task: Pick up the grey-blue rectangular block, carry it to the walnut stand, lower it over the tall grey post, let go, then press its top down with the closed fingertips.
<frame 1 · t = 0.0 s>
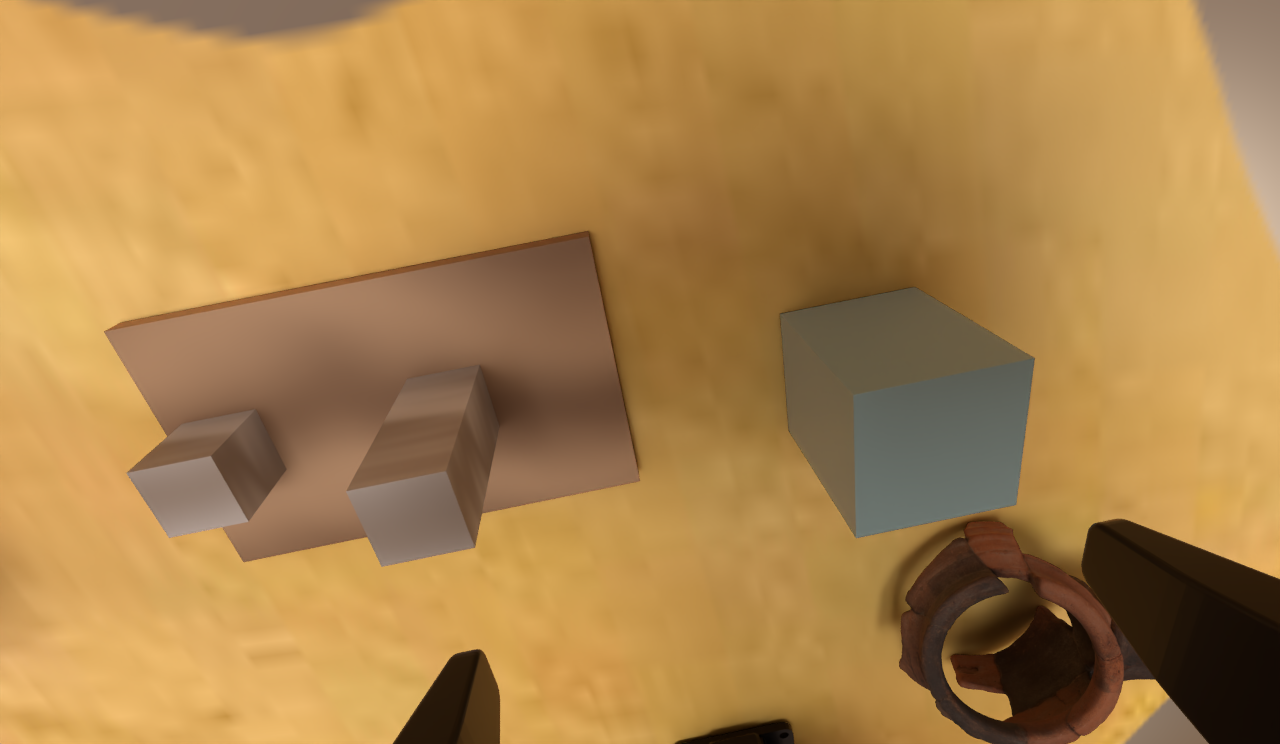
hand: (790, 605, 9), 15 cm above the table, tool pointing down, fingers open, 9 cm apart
grey-blue rectangular block: (848, 362, 24), on the table
stand: (405, 403, 23), on the table
brown looped piece: (986, 582, 31), on the table
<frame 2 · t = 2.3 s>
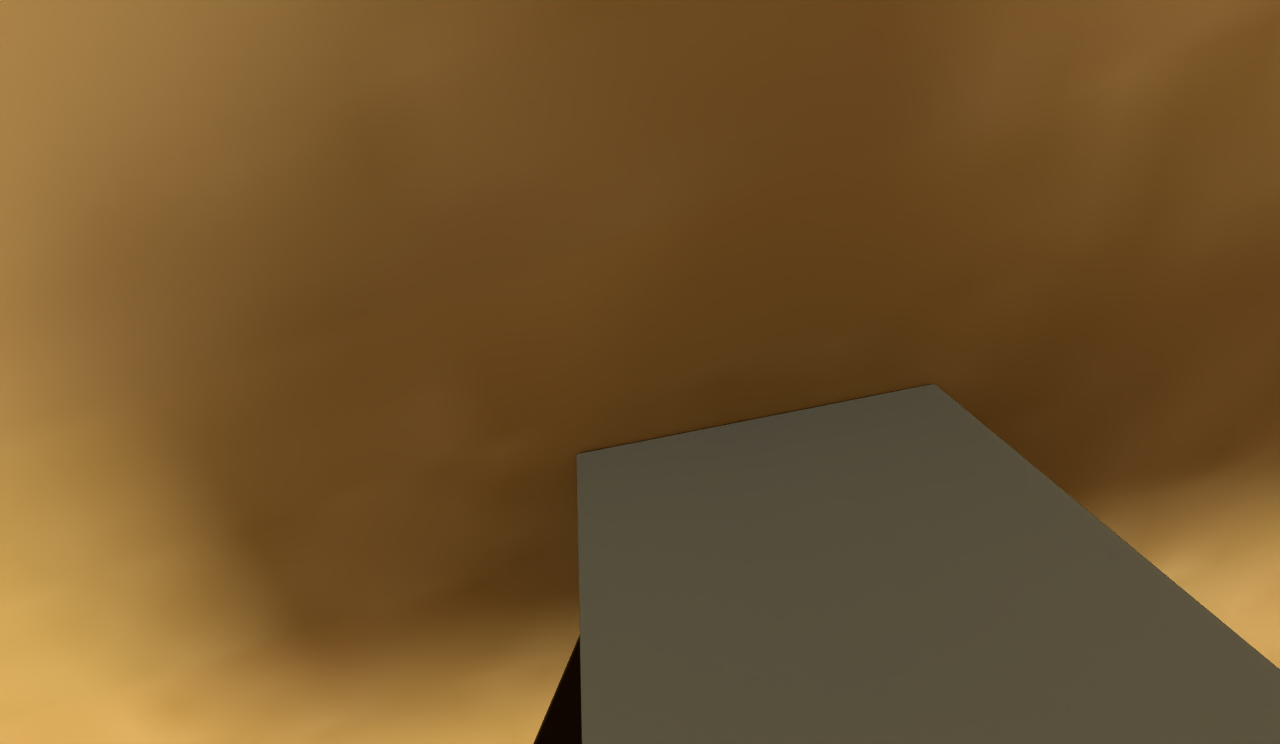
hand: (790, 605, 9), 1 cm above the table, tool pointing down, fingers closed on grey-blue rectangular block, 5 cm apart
grey-blue rectangular block: (769, 556, 10), on the table, touching gripper
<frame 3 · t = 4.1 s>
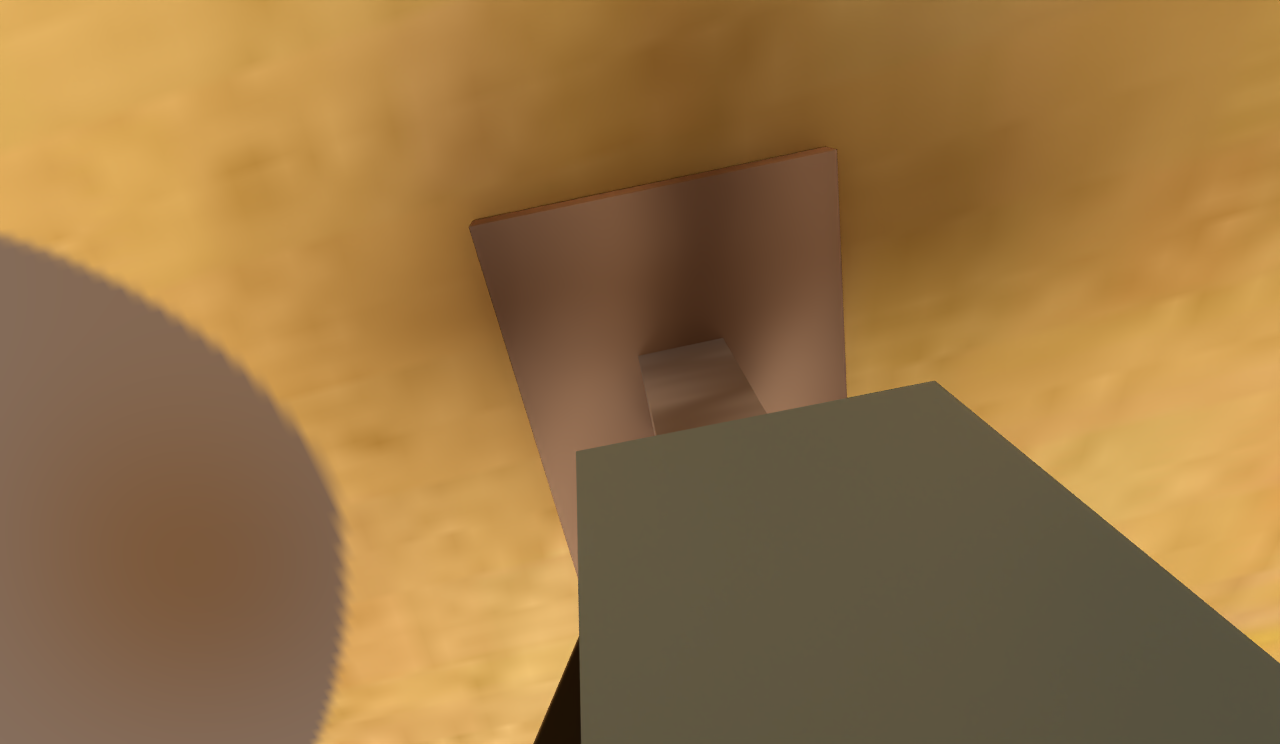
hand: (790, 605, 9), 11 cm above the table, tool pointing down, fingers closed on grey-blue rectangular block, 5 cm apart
grey-blue rectangular block: (769, 554, 10), point 10 cm above the table, touching gripper
stand: (691, 425, 21), on the table
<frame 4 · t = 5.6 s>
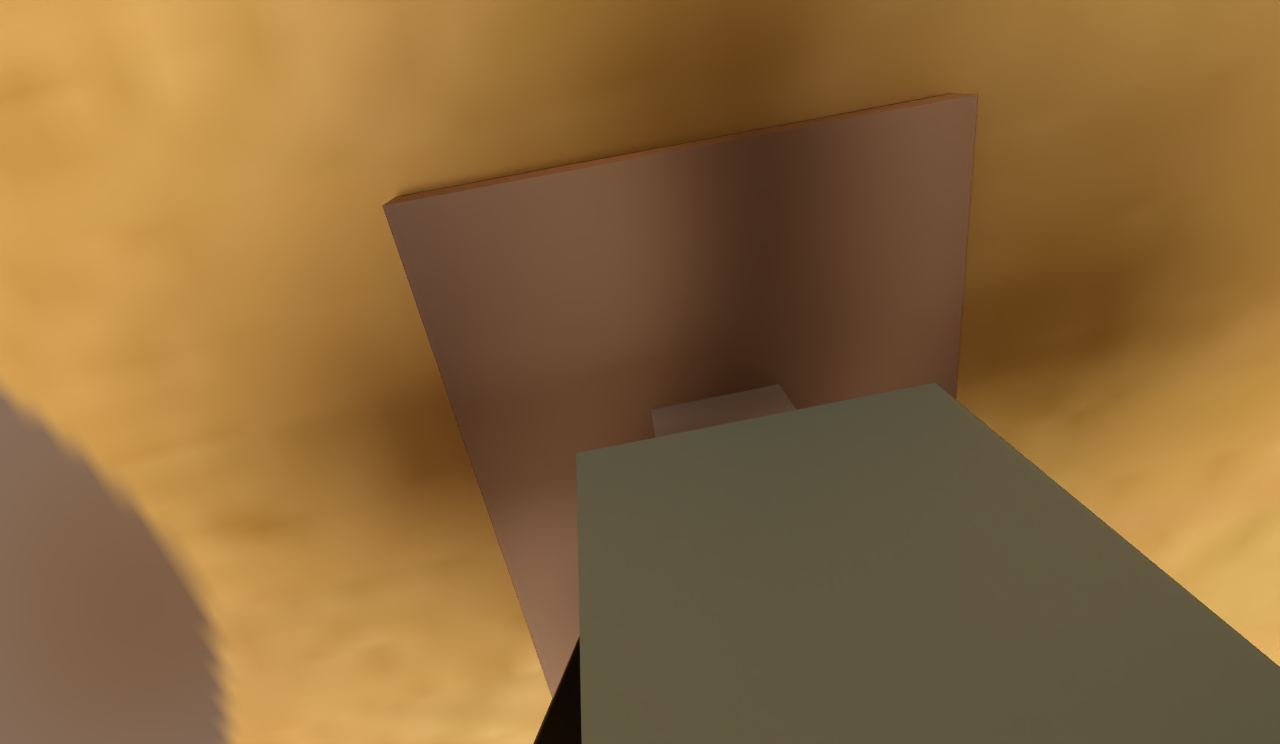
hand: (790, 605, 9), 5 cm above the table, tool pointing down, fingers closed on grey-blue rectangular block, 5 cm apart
grey-blue rectangular block: (769, 555, 10), point 4 cm above the table, touching gripper
stand: (722, 503, 14), on the table
when the fingers open (4 cm above the table, at t = 6.3 s): grey-blue rectangular block drops 1 cm, resting on stand.
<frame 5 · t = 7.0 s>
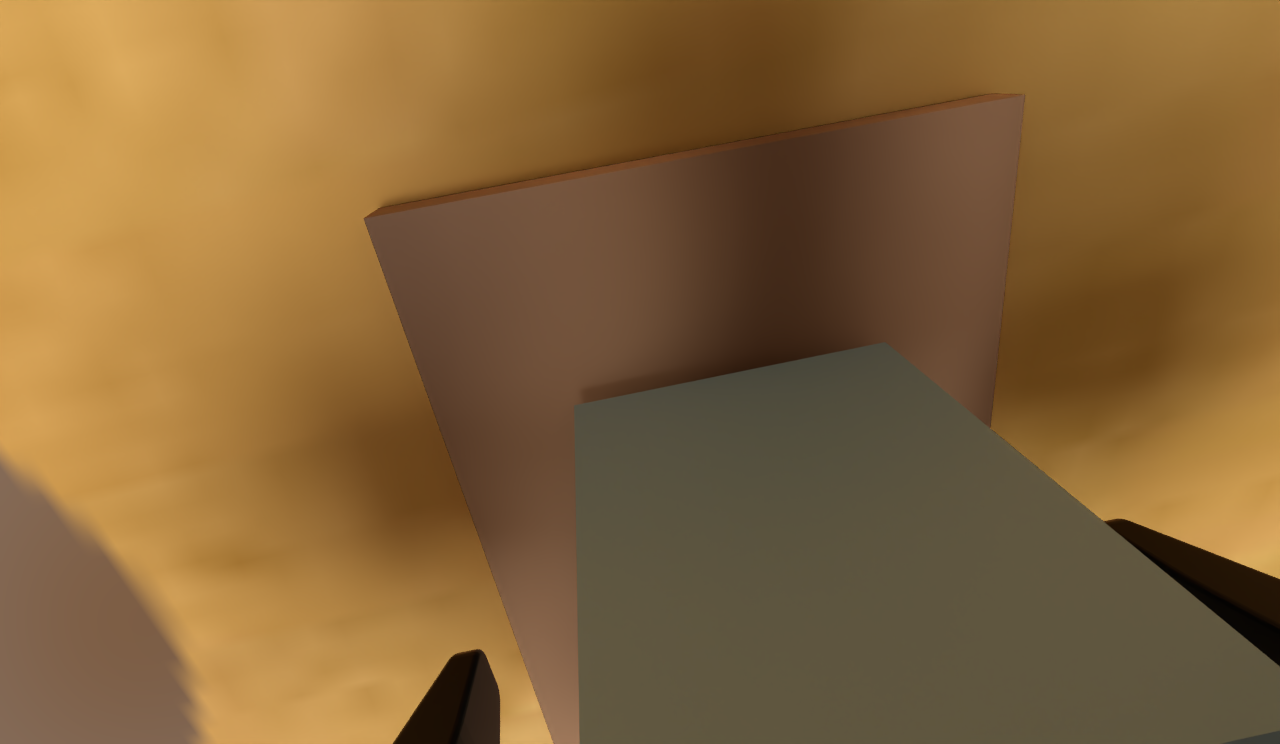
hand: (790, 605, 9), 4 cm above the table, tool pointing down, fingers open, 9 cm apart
grey-blue rectangular block: (745, 499, 11), point 1 cm above the table, touching stand
stand: (735, 534, 13), on the table
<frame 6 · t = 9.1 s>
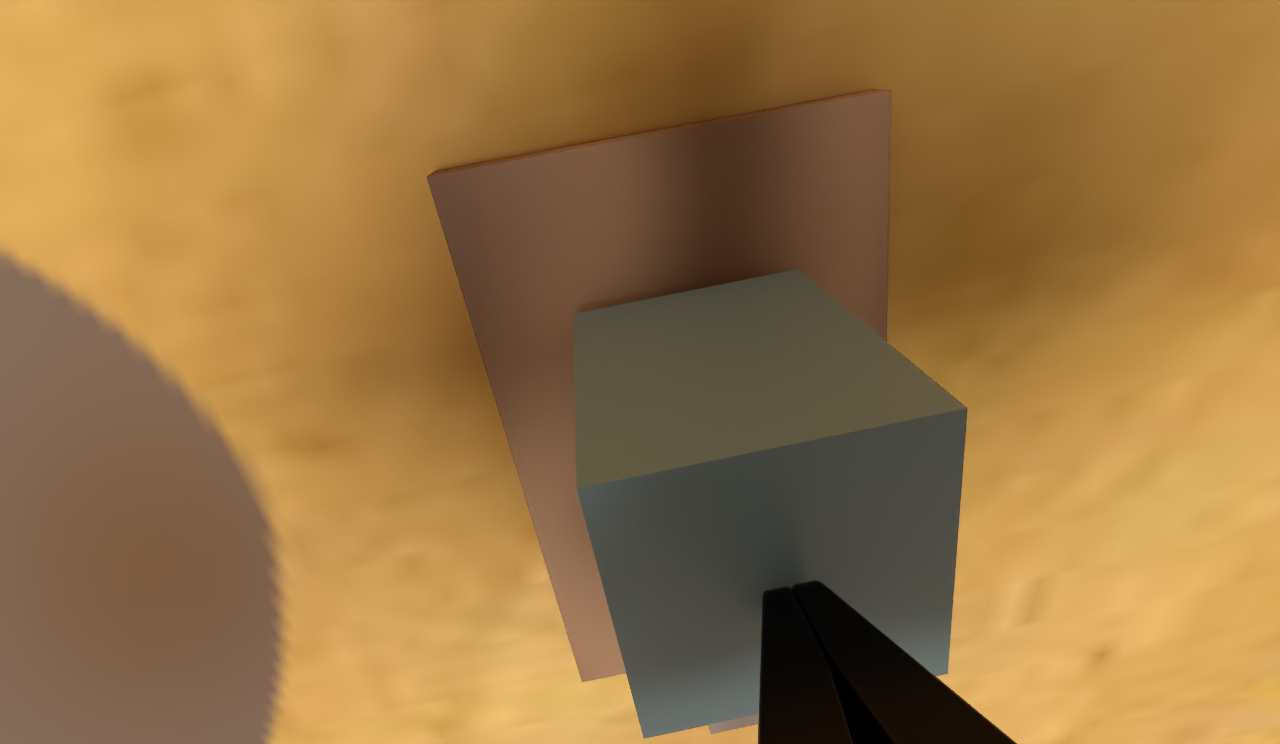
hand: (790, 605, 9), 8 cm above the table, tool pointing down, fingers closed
grey-blue rectangular block: (700, 391, 15), point 1 cm above the table, touching stand
stand: (698, 431, 17), on the table
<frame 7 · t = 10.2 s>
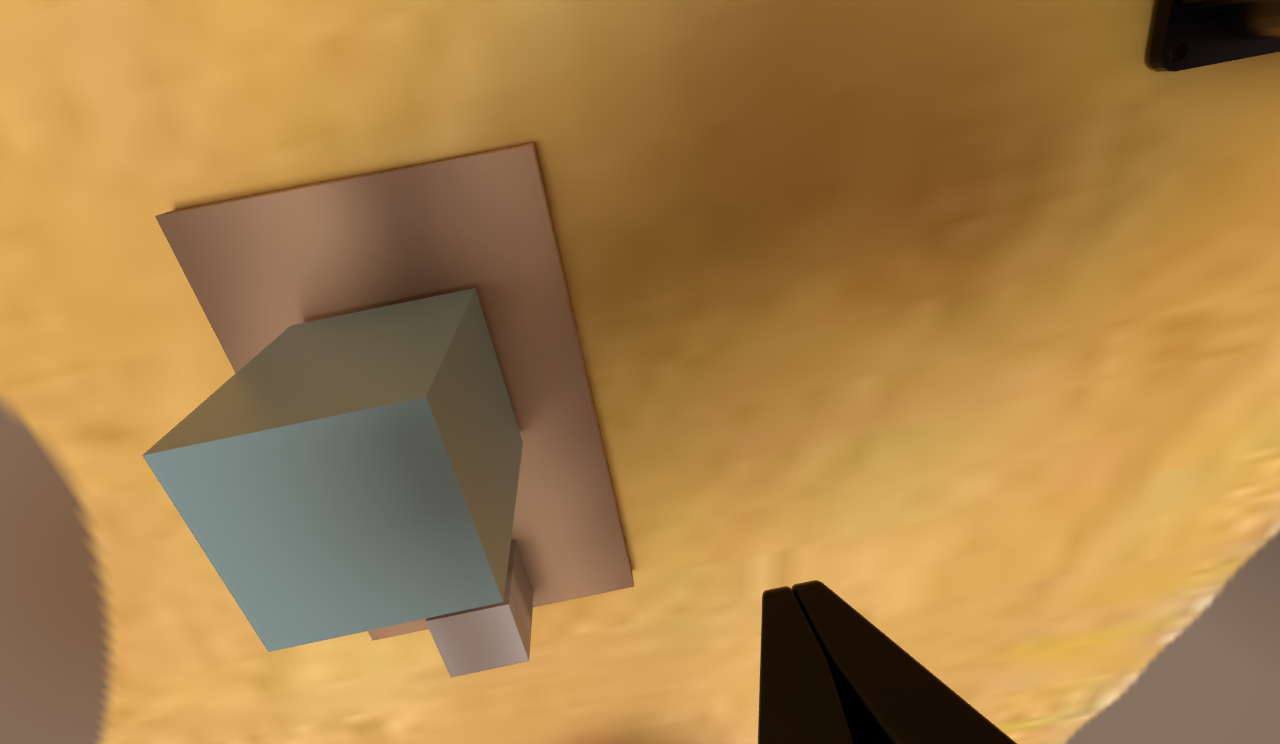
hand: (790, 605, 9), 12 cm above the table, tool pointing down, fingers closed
grey-blue rectangular block: (414, 388, 18), point 1 cm above the table, touching stand
stand: (443, 422, 20), on the table
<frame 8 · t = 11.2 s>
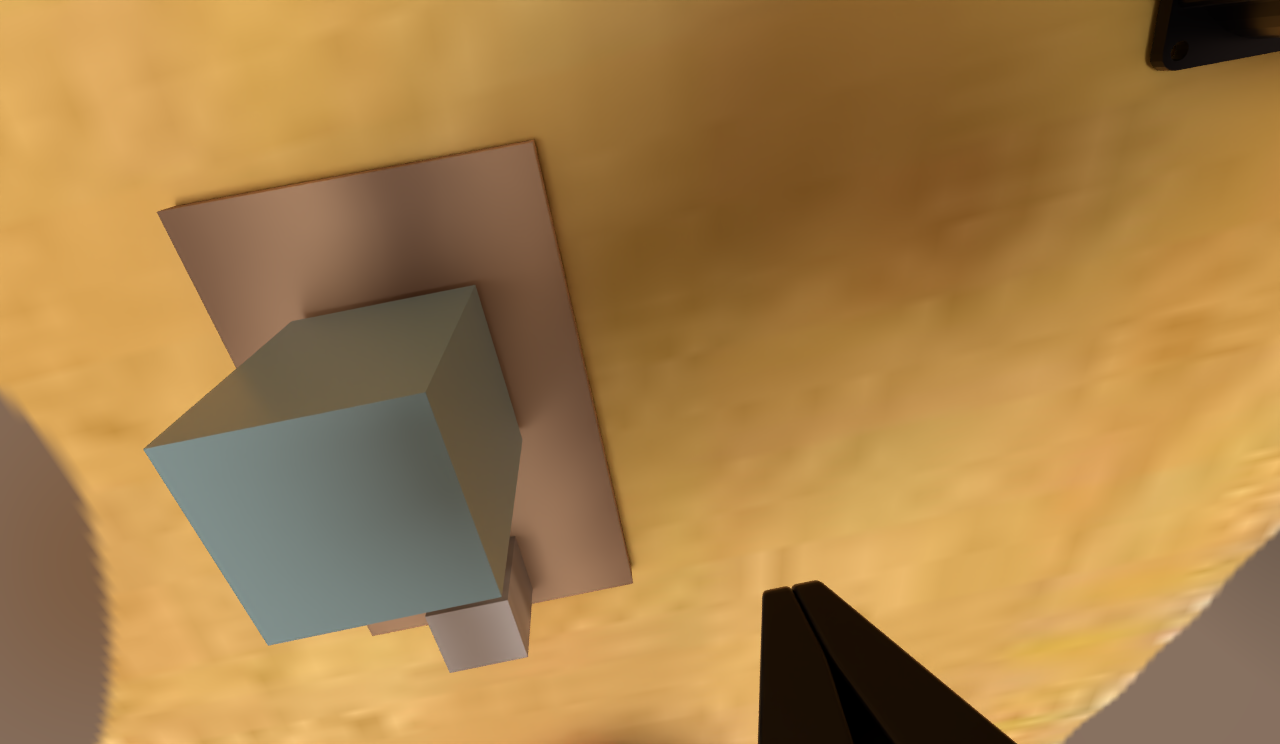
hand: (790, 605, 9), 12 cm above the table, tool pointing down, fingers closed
grey-blue rectangular block: (414, 384, 18), point 1 cm above the table, touching stand
stand: (443, 419, 20), on the table
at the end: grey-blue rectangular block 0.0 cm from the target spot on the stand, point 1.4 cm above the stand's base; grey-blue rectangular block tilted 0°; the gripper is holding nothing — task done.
